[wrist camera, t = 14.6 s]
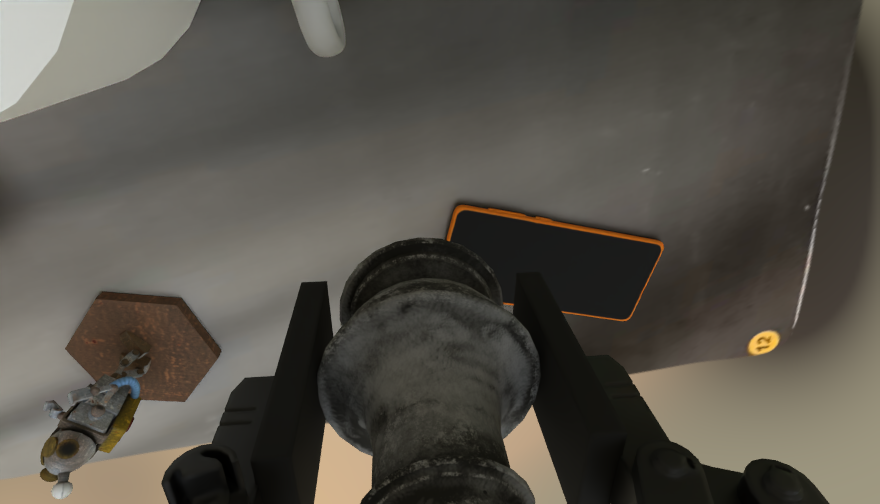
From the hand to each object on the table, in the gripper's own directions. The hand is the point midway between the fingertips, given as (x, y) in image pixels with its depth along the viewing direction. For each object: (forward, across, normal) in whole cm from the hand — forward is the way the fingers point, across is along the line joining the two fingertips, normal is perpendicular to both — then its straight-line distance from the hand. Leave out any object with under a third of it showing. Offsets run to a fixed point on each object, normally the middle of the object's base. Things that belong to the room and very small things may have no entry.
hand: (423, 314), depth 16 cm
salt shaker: (0, 0, 0) cm, 0 cm away
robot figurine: (+20, +20, +15) cm, 32 cm away
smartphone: (+20, -11, +10) cm, 25 cm away
